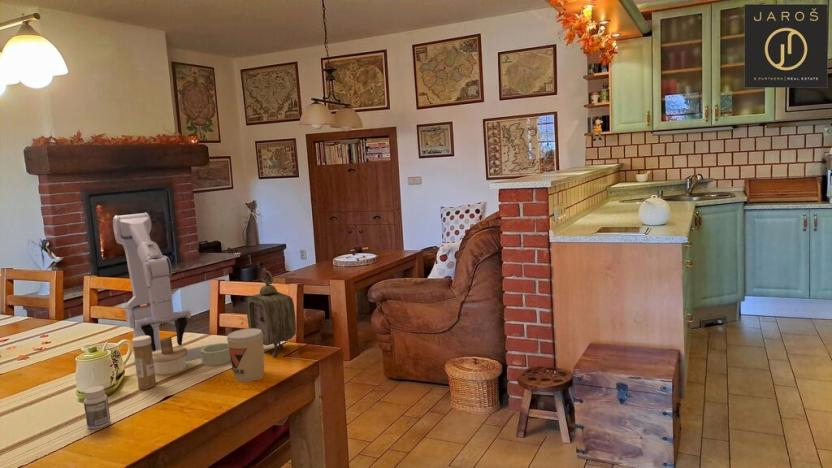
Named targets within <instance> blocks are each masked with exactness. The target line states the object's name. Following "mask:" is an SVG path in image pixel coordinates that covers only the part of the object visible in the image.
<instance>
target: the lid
mask: <svg viewBox="0 0 832 468" xmlns="http://www.w3.org/2000/svg"><path fill="white" fill-rule="evenodd" d="M172 340H173V339H172V337H163V338H160V343H161V349H160V350H157V351H154V352H152V356H153V362H167V361H172V360H176V359H179V358H181V357H184V356H185V355H187V350H188V349H187V347H184V346H183V347H182V346H173V341H172Z"/></svg>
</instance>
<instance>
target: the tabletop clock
mask: <svg viewBox="0 0 832 468" xmlns="http://www.w3.org/2000/svg"><path fill="white" fill-rule="evenodd" d="M264 273H267V274H268V275H269V276H270V278H271V279H270V280H269V279H267V278H266V279H264V278H263V277H264V276H263V275H264ZM260 278H261V281H262V283H264V284H265V285H263V286H262V287H261V288H260V290H259V293H258V294H257V293H256V294H252V295H248V296H247V297H246V301H245V302H246V316H247V317H246V318H247V325H248V329H253V328H254V329H260V330H261V331H262V332H263V346H269V345H270V346H271V345H273V349H274V351H273V352H272V354H271V355H272V357H275V358H276V357H278V355H279V353H278V351H277V349H279V350H282V349H283V348H284V344H281V342H284V341H288V340H291V339H293V338H294V336H295V335H297V334H296V333H297V321H296V312H295V311H296V310H295V305H294V300H293V298H292V297H291V296H290V295H287V294H285V293H282V292H280V291H278V289H277V288H276V287H275V286H274V285H272V284H273V281H274V277H273V274H272V273H271V271H269V270H267V269H264V270H263V271H261V273H260Z"/></svg>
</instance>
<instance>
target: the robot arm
mask: <svg viewBox="0 0 832 468" xmlns="http://www.w3.org/2000/svg"><path fill="white" fill-rule="evenodd" d="M112 228H113V234H114V239H115V241H116V243H117V244H119V245H122V247H123V250H124V254H125V258H126V262H127V263H126V264H127V269H128V274H129V280H130V286H131V291H132V297H131V298H130V299H129V300H128V301H127V302H126V303H125V306H124V308H125V320H126V324H127V326H128V327H129V328H130V329H133V330H132V331H133V338H135V337H139V336H150V337H151V349H152V352H154V351H157V350H160V349H161V343H160V340H161V335H160V326H161V324H164V323H169V322H174V325H175V330H176V331H175V332H176V342H177V345H178V346H182V345H183V337H184V332H185V329H186V327H187V324H188V319H191V318H192V315H191V313H192V312H191V311H190V310H189V309H188V310H181V311H174V305H173V304H174V302H173V296H172V289H171V287H172V286H171V278H170V277H172V274H173V272H172V271H173V270H172V268H173V267H172V263H171V260H170V258H169V257H168V256H166V255H163V253H162V251H161V249H160V247H159V245H158V243H156V242H155V241H152V239H151V237H150V233H151V230H152V219H151V216H150V215H149V213H147V212H143V213H142V212H141V213H133V214H132V213H131V214H122V215H117V214H115V215H114V217H113V218H112ZM135 306H136V307H135ZM132 354H133V355H134V350H133V351H132Z"/></svg>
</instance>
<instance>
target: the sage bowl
mask: <svg viewBox="0 0 832 468" xmlns="http://www.w3.org/2000/svg"><path fill="white" fill-rule="evenodd" d="M211 344H212V343H211ZM208 345H209V346H206V345H205V346H206V347H204V348H202V349H201V356H202V358H201V363H202V364H203V365H205V366H216V365H217V366H218V365H224V364H226V363H229V362H231V357H230V352H229V346H228V342H220V343H218V342H217V343H214V344H212V345H210V344H208Z"/></svg>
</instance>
